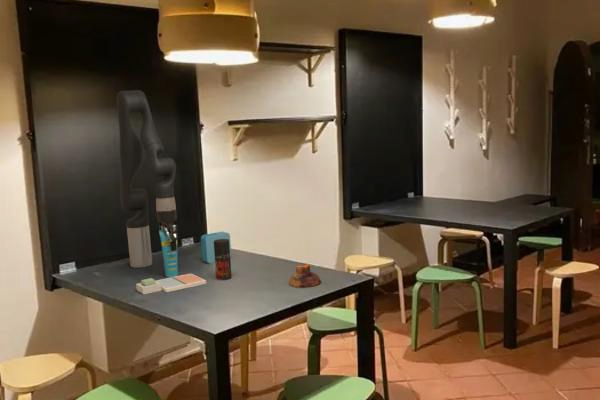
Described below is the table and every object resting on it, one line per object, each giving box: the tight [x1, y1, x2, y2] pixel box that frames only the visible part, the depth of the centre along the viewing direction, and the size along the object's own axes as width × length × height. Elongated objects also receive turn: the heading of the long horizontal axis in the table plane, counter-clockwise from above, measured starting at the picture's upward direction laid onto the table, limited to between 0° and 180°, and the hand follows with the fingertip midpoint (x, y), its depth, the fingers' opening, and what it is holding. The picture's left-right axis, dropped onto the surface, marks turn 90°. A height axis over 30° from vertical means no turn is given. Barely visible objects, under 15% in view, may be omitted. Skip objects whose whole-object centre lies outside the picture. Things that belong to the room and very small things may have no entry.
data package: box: [200, 231, 232, 264], centre depth 275 cm, size 12×4×12 cm, turn 127°
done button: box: [140, 277, 156, 286], centre depth 235 cm, size 4×4×2 cm
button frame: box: [135, 280, 163, 295], centre depth 235 cm, size 7×7×2 cm
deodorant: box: [214, 239, 233, 281], centre depth 245 cm, size 6×6×15 cm
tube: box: [158, 230, 179, 278], centre depth 252 cm, size 7×5×19 cm, turn 123°
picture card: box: [156, 273, 207, 293], centre depth 242 cm, size 14×16×1 cm
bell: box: [288, 263, 322, 289], centre depth 233 cm, size 12×12×7 cm
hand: (169, 249), depth 252 cm, fingers open, 8 cm apart
